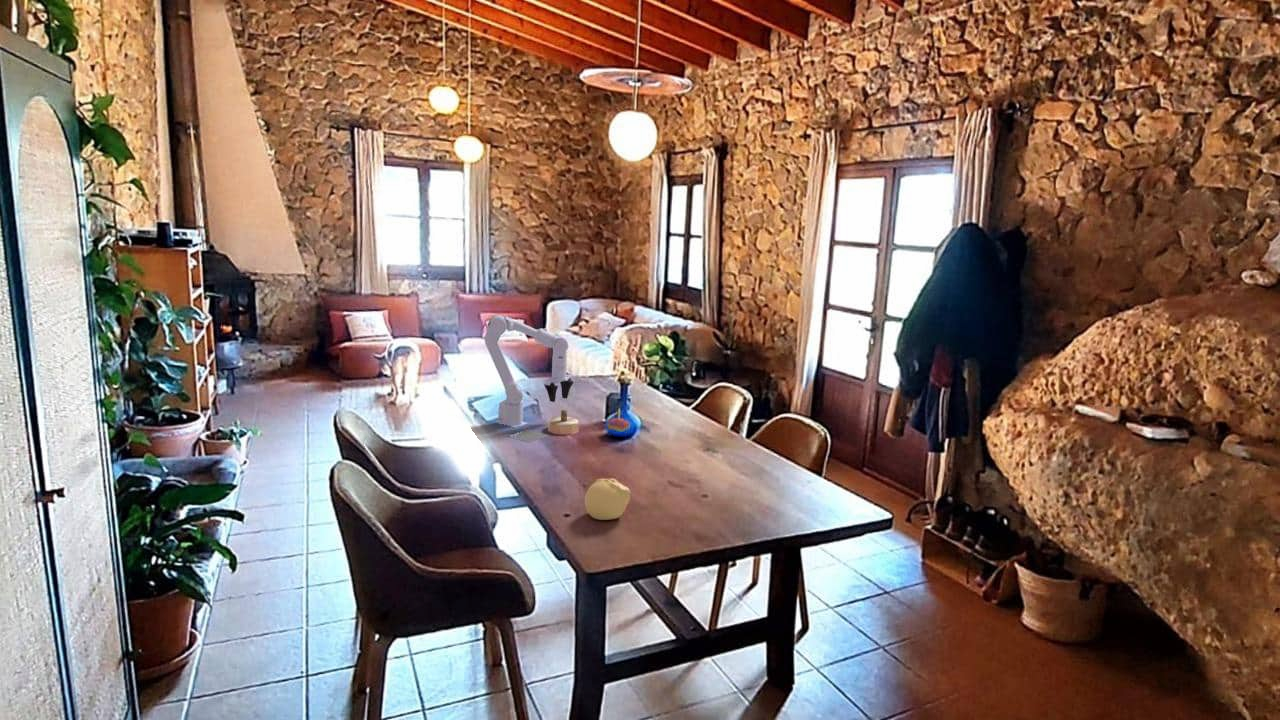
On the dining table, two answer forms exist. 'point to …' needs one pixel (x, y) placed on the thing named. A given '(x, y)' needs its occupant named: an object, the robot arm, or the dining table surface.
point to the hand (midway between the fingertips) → (558, 399)
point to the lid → (563, 420)
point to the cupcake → (619, 423)
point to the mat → (529, 435)
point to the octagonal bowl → (563, 429)
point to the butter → (607, 499)
